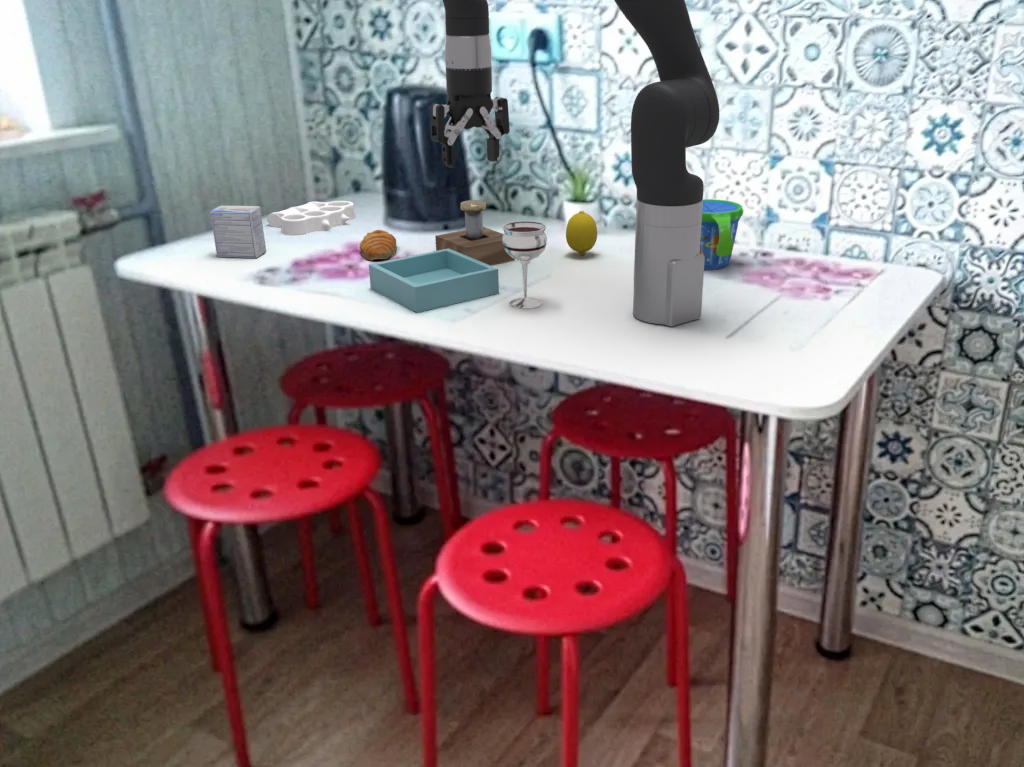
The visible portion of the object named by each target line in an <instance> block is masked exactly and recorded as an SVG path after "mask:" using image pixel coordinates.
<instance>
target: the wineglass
mask: <svg viewBox="0 0 1024 767" xmlns="http://www.w3.org/2000/svg"><path fill="white" fill-rule="evenodd" d="M501 228H502V230H503V232H504V233H502V234H503V238H502V245H503V248H504V250H505V251H506V252H507V253H508V254H509V255H510V256H511V257H512V258H514V259H515V260H517V261H519V263H520V264H521V265H522V282H523V283H522V284H523V297H519V298H515V299H514V298H513V299H512V300H510V301H509V303H508V304H509V305H510V306H511V307H513V308H515V309H533V308H537V307H540V306H541V305H542V300H540V299H537V298H533V297H528V296H527V294H528V293H527V292H528V288H527V287H528V286H527V285H528V264H530V262H531V261H533V260H534V259H537V258H539V256H540V255H541V254H542V253H543V252H544V251H545V250H546V247H547V242H548V237H547V234H546V233H545V232H546V231H545V230H546V229H547V225H546V223H543V222H539V221H533V220H518V221H511V222H507V223H504V224H503V225H502V226H501Z"/></svg>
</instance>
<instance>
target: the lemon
mask: <svg viewBox="0 0 1024 767" xmlns="http://www.w3.org/2000/svg"><path fill="white" fill-rule="evenodd" d="M566 224H567V225H566V229H565V239H566V243H567V245H568V247H569V248H570V249H571V250H572V251H574V252H576V253H577V254H578V255H579V256H583V255H585V254H586V253H587V252H589V251H590V250H592V249H593V248H594V246H595V245H596V243H597V240H598V226H597V224H596V221H595V218H593V216H591V215H590V214H588V213H587V212H585V211H584V210H579V211H578V212H577V213H574V214H573V215H572V216H571V217H570V218H569V219H568V221H567V223H566Z"/></svg>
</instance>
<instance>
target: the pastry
mask: <svg viewBox="0 0 1024 767" xmlns="http://www.w3.org/2000/svg"><path fill="white" fill-rule="evenodd" d="M397 248H398V246H397V239H396V237H395V236H394V235H393V234H391V233H389V232H388V231H386V230H383V229H376V230H373V231H371V232H367V233H366V235H364V236H363V239H362V240H361V241H360V243H359V247H358V249H359V250H360V253H361V255H362V257H364V258H365V259H366V260H369V261H375V260H390V258H391V257H392V256H394V255H395V254H396V251H397Z"/></svg>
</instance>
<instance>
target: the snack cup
mask: <svg viewBox="0 0 1024 767" xmlns="http://www.w3.org/2000/svg"><path fill="white" fill-rule="evenodd" d="M743 215H744V209H743V206H742V205H741V204H740V203H738V202H734V201H730V200H726V199H725V200H724V199H712V198H710V199H709V198H708V199H707V198H706V199H705V198H703V206H702V220H701V238H700V254H703V255H704V257H705V261H704V270H716V269H721V268H722V269H723V268H724V267H726V266H729V265H730V262H731V258H732V254H733V250H734V246H735V241H736V236H737V230H738V226H739V221H740V219H741V217H742V216H743Z"/></svg>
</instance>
